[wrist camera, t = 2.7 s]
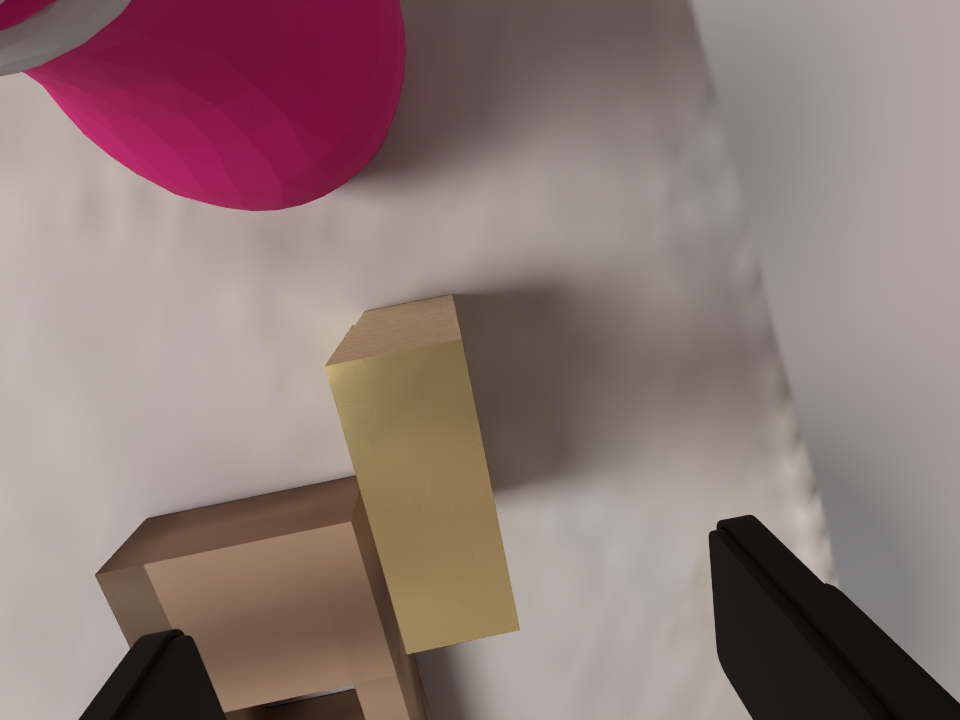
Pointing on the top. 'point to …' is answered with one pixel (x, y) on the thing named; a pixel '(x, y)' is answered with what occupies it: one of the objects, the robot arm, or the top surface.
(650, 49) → the top surface
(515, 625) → the tan rectangular block
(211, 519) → the rail
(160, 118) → the pepper mill
